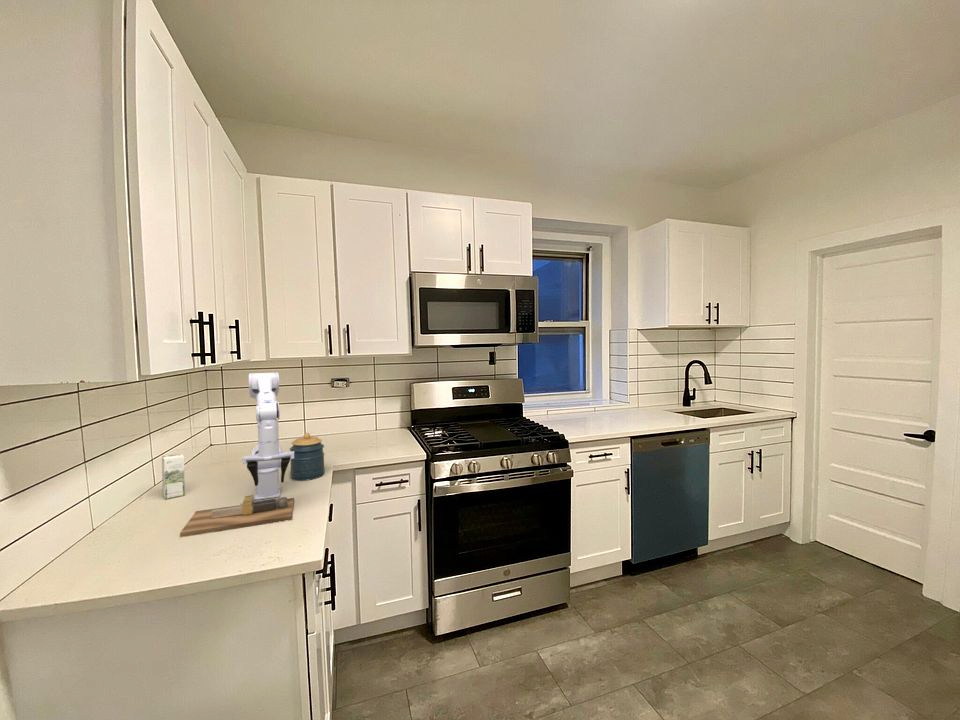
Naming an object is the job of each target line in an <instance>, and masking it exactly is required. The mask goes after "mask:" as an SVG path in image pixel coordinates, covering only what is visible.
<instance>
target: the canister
mask: <svg viewBox="0 0 960 720" xmlns="http://www.w3.org/2000/svg"><path fill="white" fill-rule="evenodd" d="M322 441H323V439H321V438H319V437H318V436H314V435H313V436H311V434H310V433H309V432H305V433H303V436H302V437H298V438H295V440H293V441H292V442H291V445H292V446H291V447H290V448H289V452H293V451H294V459H290V462H289V464H290V472H289V476H290V479H291V480H293V479H295V481H308V480H307V479H310V480H314V479H313V478H315V479H317V478H316V477H318V478H320V477H319V476H321V477H322V476H324V475H325V470H326V469H325V452H324V449H323V448H325V445H324V443H322ZM323 474H324V475H323Z"/></svg>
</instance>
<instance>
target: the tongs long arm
mask: <svg viewBox="0 0 960 720" xmlns="http://www.w3.org/2000/svg"><path fill="white" fill-rule="evenodd" d="M237 506H238V505H237ZM230 507H231V506H230ZM275 508H276V504H275V501H273V502H265V503H258V504H253V505H252V513H256V512H263V511H270V510H275ZM215 509H216V508H215ZM240 514H243V510H242V506H238V507H231V508H224V509H216V510H212V512H211V516H212V518H219V517H226V516H233V515H240Z"/></svg>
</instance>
